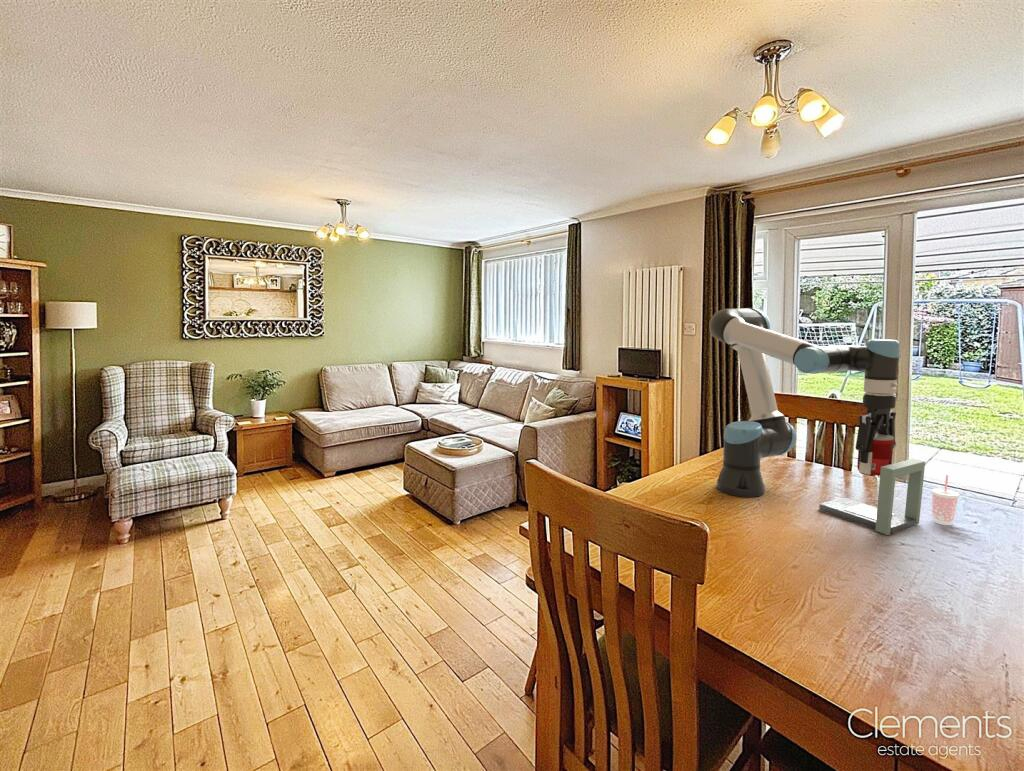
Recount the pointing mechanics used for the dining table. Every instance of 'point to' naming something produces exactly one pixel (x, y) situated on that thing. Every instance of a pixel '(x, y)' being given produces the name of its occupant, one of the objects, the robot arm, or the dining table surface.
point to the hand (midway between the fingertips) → (873, 471)
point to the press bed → (864, 514)
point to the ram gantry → (900, 470)
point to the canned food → (880, 453)
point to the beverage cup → (944, 505)
